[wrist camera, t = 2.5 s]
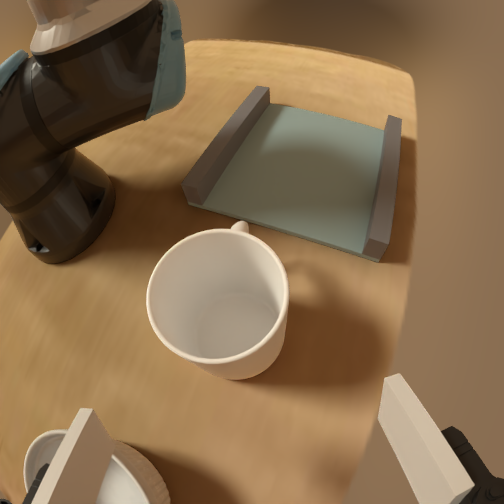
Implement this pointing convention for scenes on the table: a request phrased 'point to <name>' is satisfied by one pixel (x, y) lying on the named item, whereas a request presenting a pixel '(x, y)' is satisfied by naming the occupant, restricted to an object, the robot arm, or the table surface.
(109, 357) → the table surface
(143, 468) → the ramekin
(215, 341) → the mug
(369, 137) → the tray with side rails
